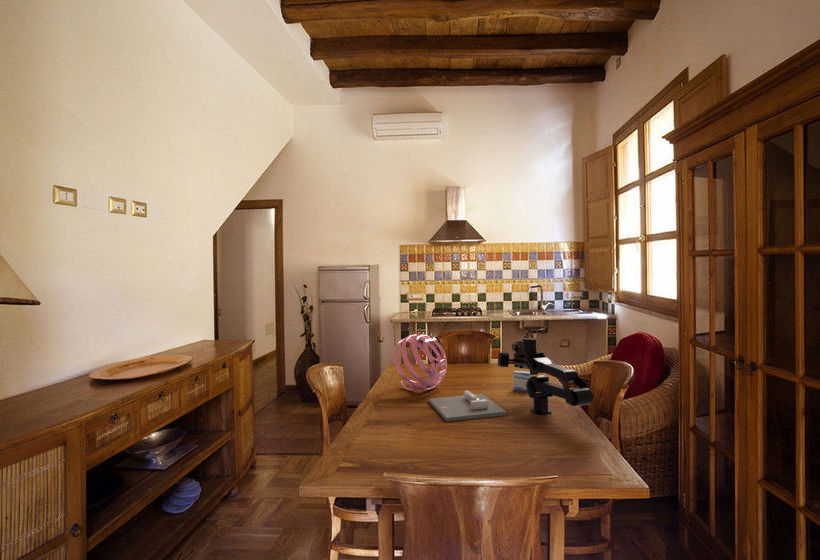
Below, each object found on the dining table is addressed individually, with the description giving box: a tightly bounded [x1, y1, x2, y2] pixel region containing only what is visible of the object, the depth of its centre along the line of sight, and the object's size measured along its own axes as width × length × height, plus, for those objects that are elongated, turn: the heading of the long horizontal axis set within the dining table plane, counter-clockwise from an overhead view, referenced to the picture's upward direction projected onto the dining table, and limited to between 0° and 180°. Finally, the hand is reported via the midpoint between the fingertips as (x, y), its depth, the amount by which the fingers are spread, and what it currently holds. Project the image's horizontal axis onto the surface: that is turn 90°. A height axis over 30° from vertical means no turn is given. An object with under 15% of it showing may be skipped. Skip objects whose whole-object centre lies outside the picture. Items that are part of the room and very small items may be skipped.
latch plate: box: [428, 393, 507, 422], centre depth 179 cm, size 25×25×2 cm
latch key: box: [463, 390, 488, 410], centre depth 180 cm, size 16×7×3 cm, turn 13°
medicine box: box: [512, 370, 533, 392], centre depth 204 cm, size 8×4×9 cm, turn 62°
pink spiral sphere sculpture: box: [393, 333, 448, 392], centre depth 209 cm, size 28×28×27 cm
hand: (508, 358), depth 197 cm, fingers open, 9 cm apart
